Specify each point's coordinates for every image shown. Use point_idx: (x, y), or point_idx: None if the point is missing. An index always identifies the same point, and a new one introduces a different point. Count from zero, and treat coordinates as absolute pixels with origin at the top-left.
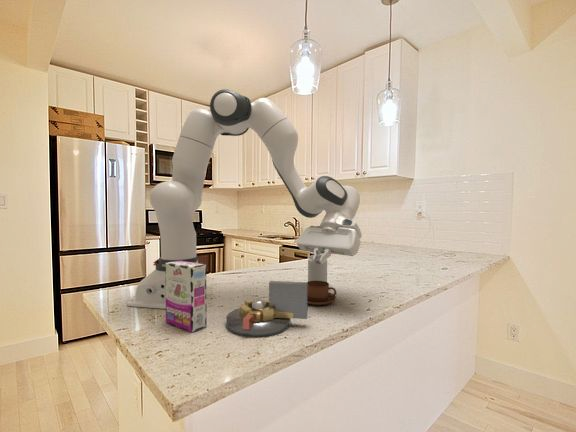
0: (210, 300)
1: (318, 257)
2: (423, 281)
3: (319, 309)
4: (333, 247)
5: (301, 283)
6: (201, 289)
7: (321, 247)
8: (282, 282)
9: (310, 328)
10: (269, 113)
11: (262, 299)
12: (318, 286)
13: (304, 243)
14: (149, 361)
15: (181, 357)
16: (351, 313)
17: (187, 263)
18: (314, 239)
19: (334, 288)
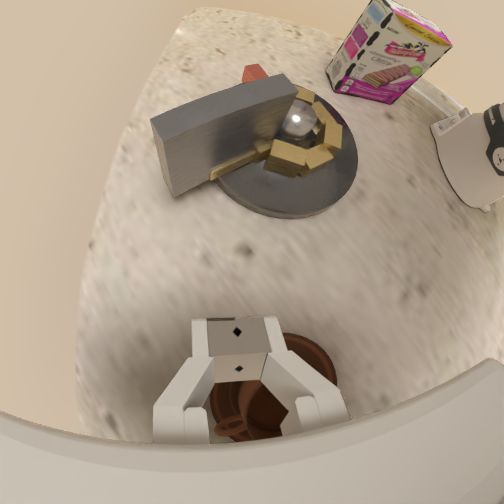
0: (443, 195)
1: (230, 338)
2: None
3: None
4: (84, 438)
5: (178, 117)
6: (362, 36)
7: (266, 440)
8: (249, 92)
9: (158, 194)
10: None
11: (301, 126)
12: (262, 383)
13: (461, 383)
14: (283, 22)
15: (265, 33)
16: (125, 367)
17: (415, 16)
18: (423, 472)
19: (223, 435)
